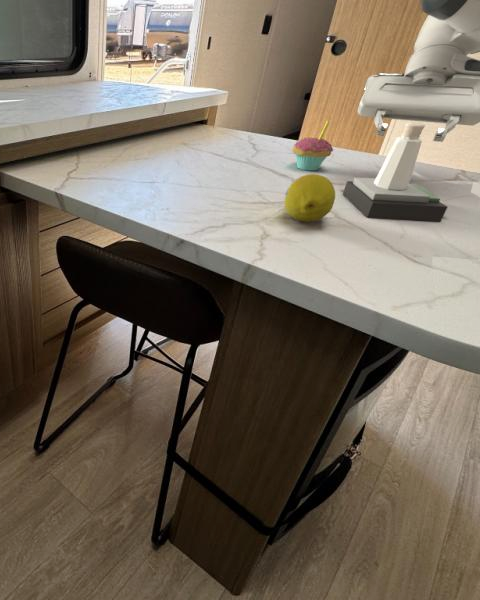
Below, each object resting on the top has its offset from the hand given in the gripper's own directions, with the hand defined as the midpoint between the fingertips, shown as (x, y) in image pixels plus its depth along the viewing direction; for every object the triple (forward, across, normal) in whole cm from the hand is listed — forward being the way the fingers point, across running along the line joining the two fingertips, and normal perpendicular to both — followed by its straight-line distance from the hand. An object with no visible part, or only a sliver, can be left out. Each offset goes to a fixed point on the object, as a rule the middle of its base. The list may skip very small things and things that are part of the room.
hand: (408, 136), depth 80 cm
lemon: (+26, -12, -9) cm, 30 cm away
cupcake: (0, -17, +17) cm, 24 cm away
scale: (+14, +1, +2) cm, 14 cm away
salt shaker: (+12, 0, -1) cm, 12 cm away
